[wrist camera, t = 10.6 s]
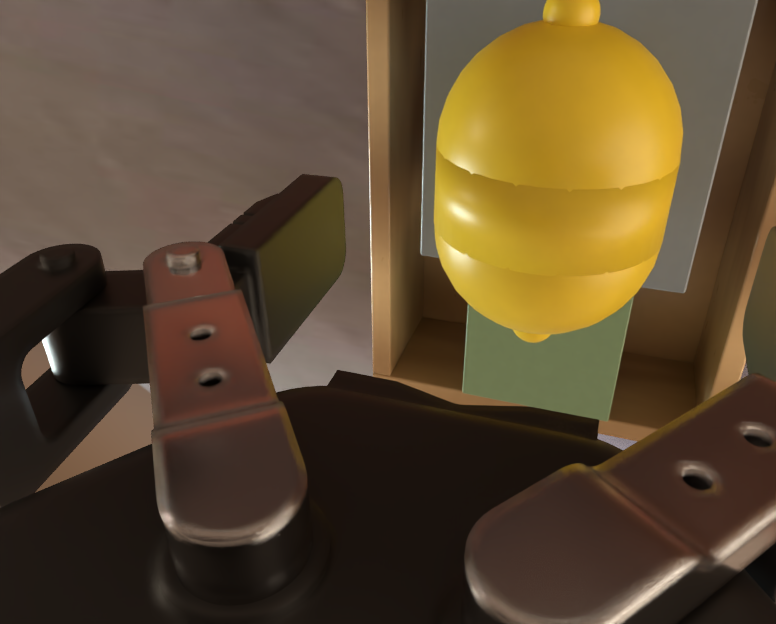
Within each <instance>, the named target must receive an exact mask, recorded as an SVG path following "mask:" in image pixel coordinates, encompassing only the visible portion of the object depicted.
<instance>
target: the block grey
mask: <svg viewBox="0 0 776 624" xmlns="http://www.w3.org/2000/svg"><path fill="white" fill-rule="evenodd" d="M546 1H547V0H426V28H425V73H424V117H423V162H422V207H421V252H420V253H421V255H423V256H430V257H437V258H439V255H438V251H437V248H436V241H435V229H434V199H435V170H436V141H437V134H438V126H439V119H440V116H441V113H442V111H443V108H444V105H445V102H446V99H447V96H448V94H449V92H450V90H451V88H452V87H453V85H454V83H455V82H456V80H457V78H458V76H459V75H460V73H461V71H462V70H463V69H464V68H465V67H466V65H467V64H468V63H469V62H470V61H471V60H472V59H473V57H474V56H475V55H476V54H477V53H478V52H479V51H481V50H482V49H483V48H485V47H486V46H487V45H489V44H490V43H491V42H492V41H494V40H495V39H496V38H498V37H499V36H501V35H503V34H505V33H507V32H509V31H511V30H513V29H515V28H517V27H519V26H521V25H524V24H527V23H531V22H535V21H540V20H543V10H544V6H545V3H546ZM599 2H600V18H599V21H598V22H601V23H604V24H607V25H610V26H613V27H616V28H618V29H620V30H621V31H623V32H624V33H626V34H628V35H629V36H631V37H632V38H634V39H636V40H637V41H639V42H640V43H641V44H642V45H643V46H644V47H645V48H646V49H647V50H648V51H649V52H650V53H651V54H652V55H653V56H654V57H655V58H656V59H657V60H658V61H659V63H660V65H661V66H662V68H663V69H664V71H665V73H666V74H667V76H668V78H669V79H670V81H671V83H672V84H673V87H674V90H675V93H676V96H677V99H678V102H679V104H680V107H681V115H682V125H683V139H682V148H681V158H680V165H679V170H678V174H677V179H676V183H675V188H674V192H673V197H672V201H671V206H670V210H669V215H668V219H667V224H666V228H665V233H664V237H663V242H662V245H661V248H660V251H659V254H658V257H657V260H656V263H655V265H654V267H653V269H652V271H651V272H650V274H649V275H648V277H647V279H646V280H645V282H644V283H643V285H642V286H641V287H643V288H649V289H656V290H663V291H670V292H677V293H685V292H686V288H687V284H688V280H689V276H690V272H691V268H692V264H693V260H694V256H695V252H696V248H697V244H698V240H699V236H700V232H701V228H702V224H703V220H704V216H705V212H706V208H707V204H708V200H709V196H710V192H711V188H712V184H713V180H714V176H715V172H716V168H717V164H718V160H719V156H720V152H721V148H722V144H723V140H724V136H725V132H726V128H727V124H728V120H729V116H730V112H731V108H732V104H733V100H734V96H735V92H736V88H737V84H738V80H739V76H740V72H741V68H742V64H743V60H744V56H745V52H746V48H747V44H748V40H749V36H750V32H751V28H752V24H753V19H754V15H755V11H756V7H757V3H758V0H599Z"/></svg>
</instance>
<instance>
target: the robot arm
mask: <svg viewBox="0 0 776 624" xmlns="http://www.w3.org/2000/svg"><path fill="white" fill-rule="evenodd" d="M345 256H346V241H345V222H344V202H343V189H342V184H341V182H340V180H339V179H338V178H336V177H327V176H318V175H309V174H302V175H300V176H299V177H298V178H297V179H296V180H295V181H293V182H292V183H291V184H290V185H289V186H287V187H286V188H285V189H284V190H283V191H282V192H280V193H279V194H275V195H273V196H270V197H268V198H265V199H263V200H261V201H258V202H256V203H255V204H254V205H253V206H251V207H250V208H249V209H248V210H246V211H245V212H244V215H240V216H239V217H238V218H237V219H236V220H234V221H233V224H229V225H228V226H227V227H226V228H225V229H223V230H222V231H221V232H220V233H218V234H217V235H216V236H215V237H214V238H212V239H211V240H210V241H209V242H208V243H206V242H181V243H176V244H171V245H168V246H165V247H162V248H160V249H157V250H155V251H154V252H152V253H151V254H149V255H148V256H147V257H146V258H145V260H144V262H143V270H129V271H105V268H104V264H103V260H102V256H101V253H100V251H99V250H98V249H97V248H95V247H93V246H90V245H85V244H64V245H57V246H53V247H49V248H45V249H42V250H39V251H37V252H35V253H32V254H30V255H29V256H27V257H25V258H24V259H22V260H21V261H19V262H18V263H16V264H15V265H13V266H12V267H10V268H9V269H7V270H6V271H4V272H3V273H1V274H0V624H776V226H773V227H772V228H771V230H770V231H769V234H768V236H767V239H766V242H765V245H764V248H763V252H762V255H761V258H760V262H759V265H758V268H757V272H756V275H755V278H754V282H753V285H752V289H751V292H750V295H749V299H748V302H747V306H746V310H745V315H744V321H743V332H742V335H743V344H744V350H745V356H746V362H747V368H748V374H749V375H748V376H746V377H744V378H743V379H741V380H739V381H738V382H736V383H734V384H733V385H731V386H729V387H728V388H726V389H724V390H723V391H721V392H719V393H718V394H716V395H714V396H713V397H711V398H709V399H708V400H706V401H704V402H703V403H701V404H699V405H698V406H696V407H695V408H693V409H691V410H690V411H688V412H686V413H685V414H683V415H681V416H680V417H678V418H676V419H675V420H673V421H671V422H670V423H668V424H666V425H665V426H663V427H661V428H660V429H658V430H656V431H655V432H653V433H651V434H650V435H648V436H646V437H645V438H643V439H642V440H640V441H638V442H637V443H635V444H633V445H632V446H630V447H628V448H627V449H625V450H621V449H619V448H617V447H615V446H613V445H611V444H609V443H606V442H604V441H601V440H599V439H597V436H598V427H599V419H593V418H588V417H583V416H577V415H572V414H567V413H562V412H556V411H551V410H546V409H541V408H535V407H530V406H491V405H461V404H455V403H452V402H449V401H447V400H444V399H442V398H439V397H436V396H434V395H431V394H429V393H426V392H423V391H421V390H418V389H416V388H413V387H411V386H408V385H405V384H403V383H400V382H398V381H393V380H388V379H383V378H377V377H372V376H367V375H361V374H356V373H351V372H346V371H340V370H337V372H336V373H335V375H334V376H333V378H332V379H331V381H330V382H329V384H328V385H327V386H312V387H302V388H295V389H290V390H285V391H281V392H277V393H276V391H275V388H274V385H273V382H272V379H271V376H270V373H269V370H268V367H267V365H266V363H271V362H272V361H273V360H274V358H275V357H276V356H277V355H278V353H279V352H280V351H281V350H282V348H283V347H284V346H285V345H286V343H287V342H288V341H289V339H290V338H291V337H292V336H293V334H294V333H295V332H296V331H297V329H298V328H299V327H300V326H301V324H302V323H303V322H304V321H305V319H306V318H307V317H308V316H309V314H310V313H311V312H312V310H313V309H314V308H315V307H316V305H317V304H318V303H319V302H320V300H321V299H322V298H323V297H324V295H325V294H326V293H327V292H328V290H329V289H330V288H331V287H332V285H333V284H334V283H335V282H336V280H337V279H338V278H339V276H340V274H341V272H342V270H343V266H344V262H345ZM40 341H42V342H43V345H44V348H45V351H46V354H47V357H48V360H49V363H50V366H51V368H49V369H48V370H47V371H46V372H45V373H44V374H43V375H42V376H41V377H39V378H38V379H37V380H36V381H35V382H34V383H33V384H32V385H30V386H29V387H28V388H27V389H26V390H25V387H24V384H23V381H22V377H21V368H22V364H23V361H24V358H25V356H26V355H27V354H28V352H29V351H30V350H31V349H32V348H33V347H35V346H36V345H37V344H38V343H39V342H40ZM141 383H150V391H151V400H152V413H153V424H154V429H153V430H152V433H151V435H152V436H151V438H152V444H150V445H148V446H146V447H143V448H141V449H138V450H136V451H133V452H131V453H129V454H126V455H124V456H122V457H119V458H117V459H114V460H112V461H110V462H107V463H105V464H102V465H100V466H98V467H95V468H93V469H91V470H88V471H86V472H83V473H81V474H79V475H76V476H74V477H72V478H69V479H67V480H64V481H62V482H60V483H58V484H55V485H53V486H51V487H48V488H45V489H43V490H41V491H38V492H36V490H37V489H38V488H39V487H40V486H41V485H42V484H43V483H44V482H45V481H46V480H47V478H48V477H49V476H50V475H51V474H52V473H53V472H54V471H55V470H56V469H57V468H58V466H59V465H60V464H61V463H62V462H63V461H64V460H65V459H66V458H67V457H68V456H69V455H70V453H71V452H72V451H73V450H74V449H75V448H76V447H77V446H78V445H79V444H80V442H82V440H83V439H84V438H85V437H86V436H87V435H88V434H89V432H91V431H92V430H93V428H94V427H95V426H96V425H97V424H98V423H99V422H100V421H101V420H102V419H103V418H104V416H105V415H106V414H107V413H108V412H109V411H110V410H111V409H112V408H113V407H114V406H115V405H116V403H117V402H118V401H119V400H120V399H121V398H122V397H123V396H124V395H125V394H126V393H127V391H128V390H129V389H130V387H131V385H132V384H141ZM35 492H36V493H35Z"/></svg>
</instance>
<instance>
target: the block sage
mask: <svg viewBox="0 0 776 624" xmlns="http://www.w3.org/2000/svg"><path fill="white" fill-rule="evenodd" d="M633 299H634V296H633V297H632V298H631V299H630V300H629V301H628V302H627V303H626V304H625V305H624V306H623V307H621V308H620V309H619V310H617V311H616V312H615V313H613V314H612V315H610V316H608V317H607V318H605V319H603V320H602V321H600V322H598V323H596V324H593V325H591V326H589V327H586V328H582V329H578V330H574V331H570V332H567V333H561V334H551V335H550V336H549V337H548V338H547V339H545V340H543V341H541V342H537V343H530V342H526V341H524V340H522V339H520V338H519V337H518V336H517V335H516V334H515V333H514V331H513V329H509V328H506V327H504V326H502V325H500V324H497V323H495V322H494V321H492V320H490V319H488V318H486V317H485V316H483V315H482V314H480V313H479V312H477V311H476V310H475V309H473V308H472V307H471V306H470V305H469V304H468V309H467V325H466V340H465V356H464V371H463V387H462V392H463V393H465V394H470V395H475V396H480V397H485V398H490V399H495V400H500V401H505V402H510V403H515V404H520V405H525V406H530V407H535V408H541V409H546V410H551V411H556V412H562V413H567V414H572V415H577V416H583V417H588V418H593V419H599V420H601V421H608V420H609V415H610V410H611V406H612V401H613V396H614V391H615V386H616V381H617V376H618V372H619V367H620V362H621V357H622V352H623V347H624V342H625V338H626V333H627V328H628V323H629V318H630V313H631V308H632V304H633Z"/></svg>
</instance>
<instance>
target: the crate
mask: <svg viewBox="0 0 776 624" xmlns="http://www.w3.org/2000/svg"><path fill="white" fill-rule="evenodd" d="M425 28H426V0H366V29H367V82H368V136H369V189H370V243H371V296H372V349H373V372H374V373H373V377H377V378H383V379H388V380H393V381H398V382H400V383H403V384H405V385H408V386H411V387H413V388H416V389H418V390H421V391H423V392H426V393H429V394H431V395H434V396H436V397H439V398H442V399H444V400H447V401H449V402H452V403H455V404H461V405H491V406H525V405H520V404H515V403H510V402H505V401H500V400H495V399H490V398H485V397H480V396H475V395H470V394H465V393H463V392H462V387H463V371H464V356H465V340H466V325H467V309H468V303H467V302H466V300H465V299H464V298H463V297H462V296H461V295H460V294H459V293H458V292H457V291H456V290H455V288H454V286H453V284H452V283H451V281H450V279H449V277H448V276H447V274H446V272H445V270H444V269H443V267H442V264H441V261H440V258H437V257H430V256H423V255H421V253H420V252H421V207H422V162H423V117H424V73H425ZM773 226H776V0H758V3H757V7H756V11H755V15H754V19H753V24H752V28H751V32H750V36H749V40H748V44H747V48H746V52H745V56H744V60H743V64H742V68H741V72H740V76H739V80H738V84H737V88H736V92H735V96H734V100H733V104H732V108H731V112H730V116H729V120H728V124H727V128H726V132H725V136H724V140H723V144H722V148H721V152H720V156H719V160H718V164H717V168H716V172H715V176H714V180H713V184H712V188H711V192H710V196H709V200H708V204H707V208H706V212H705V216H704V220H703V224H702V228H701V232H700V236H699V240H698V244H697V248H696V252H695V256H694V260H693V264H692V268H691V272H690V276H689V280H688V284H687V288H686V292H685V293H677V292H670V291H663V290H656V289H649V288H643V287H641V288H640V289H639V290H638V292H637V293H636V294H635V295H634V299H633V304H632V308H631V313H630V318H629V323H628V328H627V333H626V338H625V342H624V347H623V352H622V357H621V362H620V367H619V372H618V376H617V381H616V386H615V391H614V396H613V401H612V406H611V410H610V415H609V420H608V421H601V420H599V427H598V433H599V434H604V435H609V436H614V437H619V438H624V439H629V440H634V441H640V440H642V439H643V438H645V437H646V436H648V435H650V434H651V433H653V432H655V431H656V430H658V429H660V428H661V427H663V426H665V425H666V424H668V423H670V422H671V421H673V420H675V419H676V418H678V417H680V416H681V415H683V414H685V413H686V412H688V411H690V410H691V409H693V408H695V407H696V406H698V405H699V404H701V403H703V402H704V401H706V400H708V399H709V398H711V397H713V396H714V395H716V394H718V393H719V392H721V391H723V390H724V389H726V388H728V387H729V386H731V385H733V384H734V383H736V382H738V381H739V380H740V378H741V375H742V372H743V369H744V366H745V363H746V356H745V350H744V344H743V335H742V332H743V321H744V315H745V310H746V306H747V302H748V299H749V295H750V292H751V289H752V285H753V282H754V278H755V275H756V272H757V268H758V265H759V262H760V258H761V255H762V252H763V248H764V245H765V242H766V239H767V236H768V234H769V231H770V230H771V228H772V227H773Z"/></svg>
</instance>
